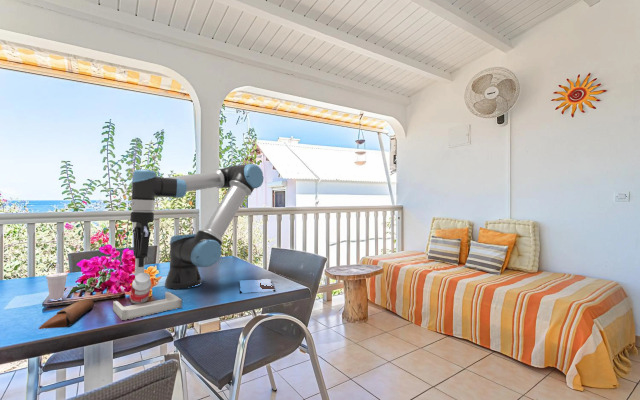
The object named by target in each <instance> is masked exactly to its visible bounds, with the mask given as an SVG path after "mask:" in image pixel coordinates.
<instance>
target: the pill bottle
mask: <svg viewBox="0 0 640 400" xmlns="http://www.w3.org/2000/svg"><path fill="white" fill-rule="evenodd" d="M131 283H132V284H131V288H130V290H131V291H130V296H129V299H130V302H131V303H132V304H134V305H136V304H141V303H146V302H148V300H149V298H150V292H151V287H152V281H151V276H150V274H149V273H147V272H144V273H139V274H137V275H136V276H135V278H134V279H133V281H132V282H131Z"/></svg>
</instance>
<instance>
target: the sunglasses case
mask: <svg viewBox="0 0 640 400" xmlns="http://www.w3.org/2000/svg"><path fill="white" fill-rule="evenodd" d="M94 307H95V302H94V301H93V299H90V298H87V299H83V300H80V301H76V302H74V303H72V304H70V305H68V306H66V307H64V308H62V309H60V310H59V311H57V312H56V314H54V315H53V316H52V317H50V318H49V319H47V320H46V321H44V323H42V324H41V325H40V326H39V327H38V329H39V330H43V329H44V328H45V329H56V328H57V329H58V328H69V327H70V326H72V325H73V324H74V323H75V322H76V321H77V320H78V319H80V317H82V316H83V315H84V314H86V313H87V312H88V311H89V310H91V309H93V308H94ZM45 329H44V330H45Z"/></svg>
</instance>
